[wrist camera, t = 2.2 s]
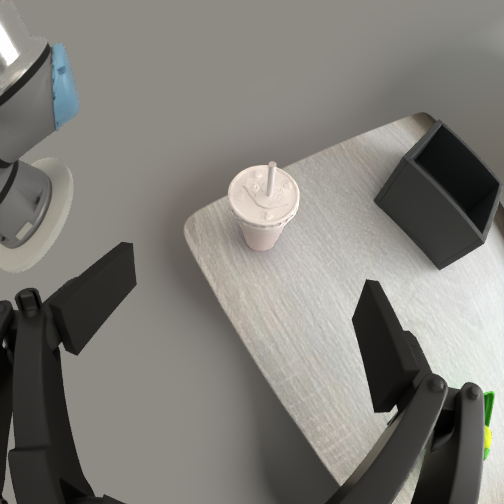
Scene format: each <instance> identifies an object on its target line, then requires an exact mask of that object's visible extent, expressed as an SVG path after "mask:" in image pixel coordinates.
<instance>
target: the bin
mask: <svg viewBox="0 0 504 504" xmlns="http://www.w3.org/2000/svg"><path fill="white" fill-rule="evenodd" d="M502 189H503V184H502V183H501V182H500V180H499V179H498V178H497V177H496V176H495V175H494V173H493V172H492V171H491V170H490V169H489V168H488V166H487V165H486V164H485V163H484V162H483V161H482V160H481V159H480V158H479V157H478V156H477V155H476V154H475V152H474V151H473V150H472V149H471V148H470V147H469V146H468V145H467V144H466V143H465V142H464V141H463V140H461V139H460V138H459V137H458V136H457V135H456V134H455V133H454V132H453V131H452V130H451V129H450V128H448V127H447V126H446V125H445V124H444V123H443V122H442V121H441V120H438V121H437V122H436V123H435V124H434V125H433V126H432V127H431V128H430V129H429V130H428V132H427V133H426V134H425V135H424V136H423V137H422V138H421V139H420V140H419V141H418V142H417V143H416V144H415V145H414V146H413V147H412V148H411V149H410V150H409V151H408V152H407V153H406V154H405V155H404V156H403V158H402V159H401V161H400V162H399V164H398V165H397V167H396V168H395V170H394V171H393V173H392V174H391V176H390V177H389V179H388V180H387V182H386V183H385V185H384V186H383V188H382V189H381V191H380V192H379V193H378V195H377V196H376V198H375V199H374V202H375V203H376V204H377V205H378V206H379V207H380V208H381V209H383V210H384V211H385V212H386V213H387V214H388V215H389V216H390V217H391V218H392V219H393V220H394V221H395V222H396V223H397V224H398V225H399V226H400V227H401V228H402V229H403V230H404V231H405V232H406V234H407V235H408V236H409V237H410V238H411V239H412V240H413V241H414V242H415V243H416V244H417V245H418V246H419V247H420V248H421V250H422V251H423V252H424V253H425V254H426V255H427V256H428V257H429V259H430V260H431V261H432V262H433V263H434V264H435V265H436V267H437V268H438V269H439V270H441V269H443V268H444V267H446V266H448V265H449V264H451V263H453V262H455V261H456V260H458V259H460V258H461V257H463V256H465V255H466V254H468V253H470V252H471V251H473V250H475V249H476V248H478V247H479V246H481V245H483V244H484V243H485V240H486V238H487V235H488V232H489V230H490V227H491V224H492V221H493V219H494V216H495V213H496V209H497V206H498V203H499V200H500V196H501V193H502Z"/></svg>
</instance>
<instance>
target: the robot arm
mask: <svg viewBox="0 0 504 504" xmlns="http://www.w3.org/2000/svg"><path fill="white" fill-rule="evenodd" d="M78 110H79V97H78V92H77V88H76V84H75V80H74V77H73V73H72V69H71V66H70V62H69V59H68V56H67V52H66V50H65V48H64V45H63V44H62V43H58V44H54V45H53V46H52V48H51V47H50V46H49V44H48V42H47V41H46V39H45V38H44V37H31V36H30V35H29V33H28V32H27V30H26V28H25V26H24V24H23V22H22V20H21V18H20V16H19V14H18V12H17V9H16V7H15V5H14V3H13V1H12V0H0V244H2V245H3V246H5V247H7V248H10V249H14V248H17V247H20V246H21V245H23V244H24V243H26V242H27V241H28V240H29V239H30V238H31V237H32V236H33V234H34V233H35V232H36V231H37V229H38V228H39V226H40V225H41V223H42V221H43V219H44V217H45V215H46V213H47V211H48V208H49V205H50V202H51V197H52V182H51V180H50V178H49V177H48V176H47V175H46V174H45V173H44V172H43V171H42V170H40V169H38V168H36V167H34V166H31V165H29V164H27V163H24V162H22V161H20V160H19V158H20V157H21V156H22V155H24V154H25V153H26V152H27V151H29V150H30V149H31V148H32V147H34V146H35V145H36V144H38V143H39V142H40V141H42V140H43V139H44V138H46V137H47V136H48V135H50V134H51V133H53V132H54V131H58V130H59V128H60V127H61V126H62V125H64V124H65V123H67V122H68V121H69V120H71V119H72V118H73V117H75V115H76V114H77V113H78ZM135 286H136V275H135V265H134V253H133V244H132V243H126V242H121V243H120V244H119V245H117V246H116V247H115V248H113V249H112V250H111V251H109V252H108V253H107V254H106V255H104V256H103V257H102V258H101V259H99V260H98V261H97V262H96V263H95V264H93V265H92V266H91V267H89V268H88V269H87V270H86V271H84V273H82V274H81V275H80V276H79V277H75V278H73V279H71V280H69V281H67V282H66V283H65V284H64V285H63V286H62V287H60V288H59V289H58V291H56V292H55V293H53V294H52V295H51V296H50V297H49V298H48V299H47V300H46V301H45V302H43V303H42V301H41V298H40V295H39V292H38V290H37V289H35V288H26V289H23V290H21V291H20V292H18V294H16V296H15V301H16V304H17V306H18V309H19V310H13V307H12V304H11V302H9V301H7V300H5V301H0V504H8V502H7V501H6V500H5V499H4V498H3V497H2V491H3V487H4V480H5V471H6V457H7V446H8V437H9V430H10V423H11V418H12V412H13V425H14V437H15V448H14V449H12V450H10V451H9V453H8V461H9V467H10V474H11V479H12V484H13V489H14V493H15V498H16V501H17V504H125V503H123V502H120V501H118V500H116V499H114V498H111V497H109V496H107V495H105V494H104V496H103V498H101V497H95V495H94V492H93V490H92V488H91V486H90V485H89V483H88V482H87V480H86V479H85V477H84V475H83V472H82V469H81V466H80V463H79V459H78V456H77V452H76V448H75V444H74V440H73V436H72V432H71V427H70V422H69V417H68V412H67V406H66V401H65V395H64V386H63V378H62V369H61V357H60V350H59V347H58V345H59V344H60V343H61V342H62V343H63V345H64V348H65V350H66V351H68V352H70V353H72V354H74V355H78V354H79V353H80V352H81V350H82V349H83V348H84V347H85V345H86V344H87V343H88V342H89V340H90V339H91V338H92V337H93V335H94V334H95V333H96V332H97V330H98V329H99V328H100V327H101V325H102V324H103V323H104V322H105V320H106V319H107V318H108V317H109V316H110V315H111V314H112V312H113V311H114V310H115V309H116V307H117V306H118V305H119V304H120V303H121V302H122V301H123V299H124V298H125V297H126V296H127V295H128V293H130V291H131V290H132V289H133V288H134V287H135ZM352 322H353V326H354V330H355V333H356V337H357V341H358V344H359V348H360V352H361V356H362V360H363V364H364V368H365V372H366V377H367V381H368V385H369V390H370V394H371V399H372V404H373V409H374V413H381V412H390V411H391V410H392V408H393V407H394V406H395V405H397V409H398V412H397V413H396V414H395V415H394V416H393V418H392V419H391V420H390V421H389V422H388V423H387V425H388V426H387V428H386V429H385V431H384V432H383V434H382V435H381V437H380V438H379V439H378V441H377V442H376V444H375V445H374V446H373V448H372V449H371V450H370V452H369V453H368V454H367V456H366V457H365V458H364V460H363V461H362V462H361V463H360V465H359V466H358V467H357V468H356V470H355V471H354V472H353V473H352V475H351V476H350V477H349V478H348V479H347V480H346V482H345V483H344V484H343V485H342V486H341V487H340V488H339V489H338V491H337V492H336V493H335V494H334V495H333V496H332V497H331V498H330V499H329V500H328V501H327V502H326V503H325V504H392V502H393V501H394V499H395V498H396V496H397V495H398V493H399V492H400V490H401V489H402V487H403V485H404V484H405V482H406V480H407V479H408V477H409V475H410V474H411V472H412V470H413V468H414V467H415V465H416V463H417V461H418V459H419V457H420V455H421V453H422V451H423V449H424V447H425V445H426V443H427V446H426V451H425V455H424V460H423V464H422V468H421V472H420V475H419V479H418V482H417V486H416V489H415V492H414V495H413V498H412V501H411V504H477V503H478V498H479V492H480V486H481V479H482V471H483V460H484V443H485V410H484V395H483V392H482V390H481V388H480V387H479V386H478V385H476V384H474V383H472V382H467V383H465V384H464V385H463V386H462V388H461V389H460V390H459V389H455V388H450V387H448V386H447V383H446V382H445V380H444V379H443V378H442V377H440V376H439V375H436V374H433V373H432V371H431V369H430V366H429V364H428V362H427V360H426V358H425V355H424V353H423V351H422V349H421V347H420V345H419V343H418V341H417V339H416V337H415V336H414V335H413V334H412V333H411V332H410V331H403V329H402V327H401V325H400V322H399V320H398V318H397V316H396V314H395V312H394V310H393V308H392V306H391V304H390V302H389V300H388V298H387V296H386V295H385V293H384V291H383V289H382V287H381V285H380V283H379V281H374V280H367V279H366V281H365V284H364V287H363V290H362V293H361V296H360V299H359V301H358V304H357V307H356V310H355V312H354V315H353V318H352ZM3 340H4V342H5V344H6V345H5V348H3V346H2V344H3Z"/></svg>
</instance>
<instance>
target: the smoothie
mask: <svg viewBox="0 0 504 504" xmlns="http://www.w3.org/2000/svg"><path fill="white" fill-rule="evenodd" d="M299 198H300V194H299V189H298V186H297V184H296V182H295V181H294V179H293V178H292V177H291V176H290V175H289V174H288V173H286V172H285V171H283V170H281V169H279V168H276V163H275V162H273V161H272V162H270V163H269V166H267V165H259V166H253V167H249V168H247V169H245V170H243V171H241V172H240V173H239V174H237V175H236V176H235V178H234V179H233V180H232V182H231V184H230V186H229V190H228V205H229V208H230V210H231V213H232V214H233V215H234V217H235V218H236V219H237V220H238V222H239V224H240V227H241V230H242V232H243V235H244V237H245V240H246V242H247V244H248V246H249V247H250V248H251V249H253V250H255V251H259V252H263V251H267V250H269V249H271V248H272V247H273V246H274V245H275V243H276V241H277V239H278V238H279V236H280V234H281V232H282V230H283V229H284V227H285V225H286V223H288V222H289V221H290V220H291V219H292V218H293V216H294V215H295V214H296V211H297V209H298V205H299Z"/></svg>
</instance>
